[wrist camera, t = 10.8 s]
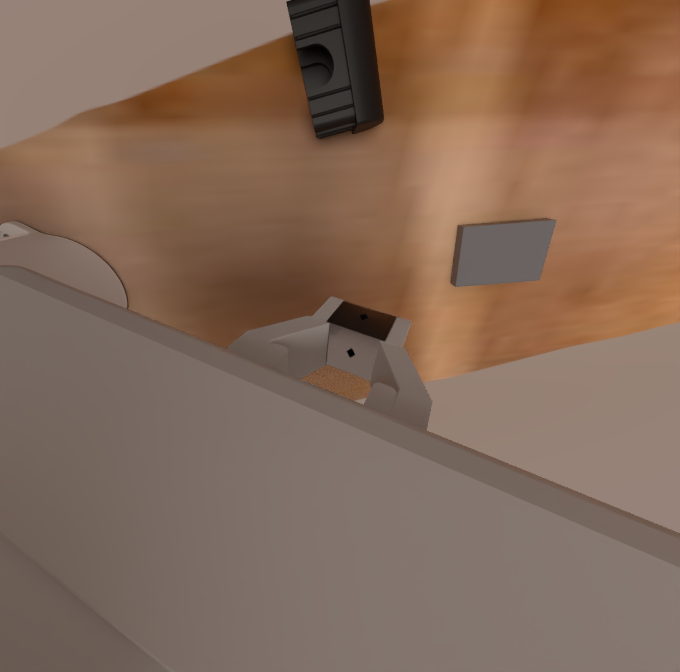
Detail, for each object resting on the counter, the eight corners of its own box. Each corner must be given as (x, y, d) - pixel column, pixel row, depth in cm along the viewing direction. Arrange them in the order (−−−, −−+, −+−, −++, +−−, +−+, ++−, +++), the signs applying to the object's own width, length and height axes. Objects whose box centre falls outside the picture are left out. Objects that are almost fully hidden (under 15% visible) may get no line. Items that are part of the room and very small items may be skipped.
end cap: (378, 128, 32) (389, 116, 26) (318, 144, 33) (316, 136, 27) (361, 4, 27) (371, -44, 21) (291, 26, 28) (282, -16, 22)
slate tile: (455, 286, 40) (539, 280, 40) (463, 227, 36) (556, 219, 36) (449, 282, 42) (529, 275, 42) (456, 224, 38) (544, 217, 38)
